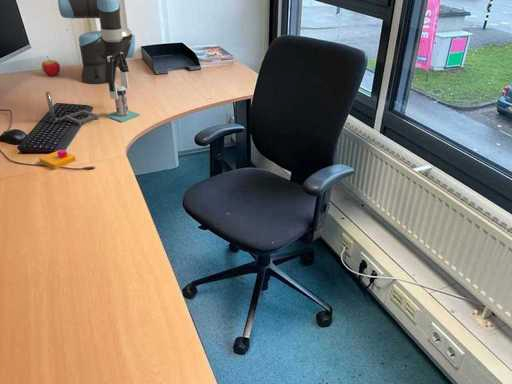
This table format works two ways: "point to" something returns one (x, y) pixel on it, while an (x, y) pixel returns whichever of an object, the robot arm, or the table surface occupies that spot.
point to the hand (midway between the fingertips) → (119, 93)
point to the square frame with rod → (51, 109)
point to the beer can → (121, 101)
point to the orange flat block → (57, 159)
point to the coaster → (122, 118)
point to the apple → (51, 67)
